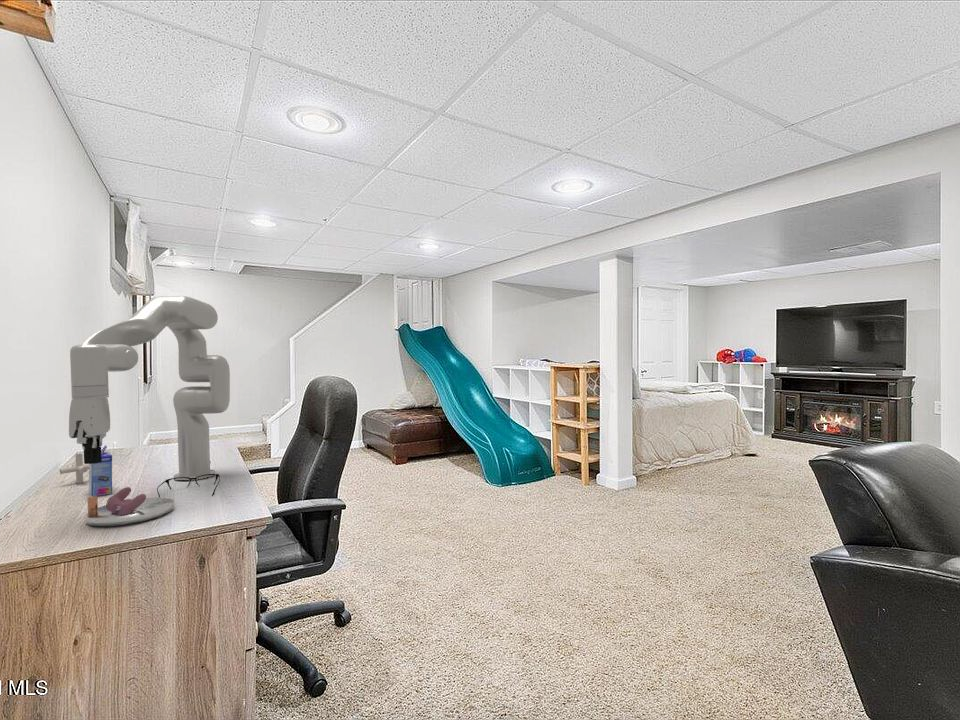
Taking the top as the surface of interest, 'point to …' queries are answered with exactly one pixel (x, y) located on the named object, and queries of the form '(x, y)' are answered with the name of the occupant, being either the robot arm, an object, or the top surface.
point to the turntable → (144, 512)
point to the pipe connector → (77, 468)
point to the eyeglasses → (190, 481)
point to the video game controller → (124, 502)
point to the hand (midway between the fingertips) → (92, 462)
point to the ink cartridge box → (101, 475)
